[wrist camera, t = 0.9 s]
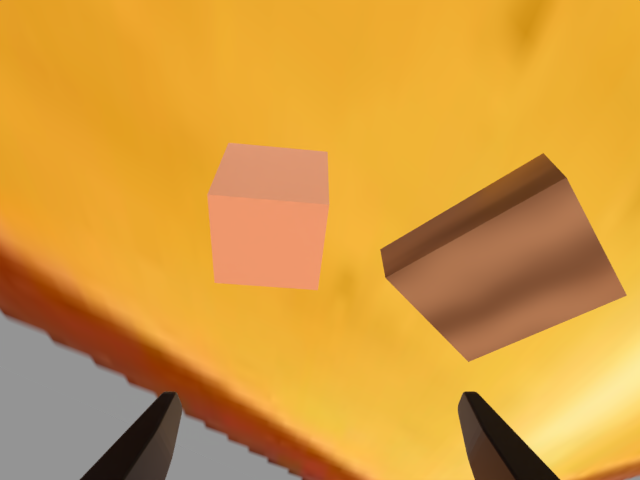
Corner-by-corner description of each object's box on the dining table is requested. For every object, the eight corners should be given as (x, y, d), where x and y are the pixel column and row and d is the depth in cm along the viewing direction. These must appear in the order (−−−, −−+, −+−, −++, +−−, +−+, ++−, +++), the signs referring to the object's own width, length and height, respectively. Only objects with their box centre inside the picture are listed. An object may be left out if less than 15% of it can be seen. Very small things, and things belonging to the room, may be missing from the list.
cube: (231, 222, 24) (214, 282, 20) (228, 142, 21) (207, 194, 17) (318, 229, 24) (317, 290, 20) (327, 151, 21) (329, 204, 17)
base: (380, 249, 25) (385, 277, 23) (543, 152, 21) (566, 177, 19) (458, 332, 30) (468, 362, 28) (603, 266, 26) (626, 295, 24)
